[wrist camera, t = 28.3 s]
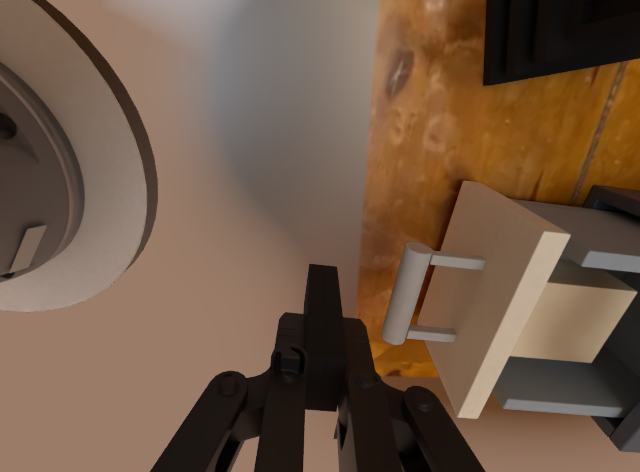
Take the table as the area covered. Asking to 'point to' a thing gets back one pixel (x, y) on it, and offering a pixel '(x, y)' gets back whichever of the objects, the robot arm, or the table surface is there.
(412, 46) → the table surface
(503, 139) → the table surface
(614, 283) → the block
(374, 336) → the table surface
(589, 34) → the chess piece
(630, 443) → the cabinet
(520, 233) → the drawer
